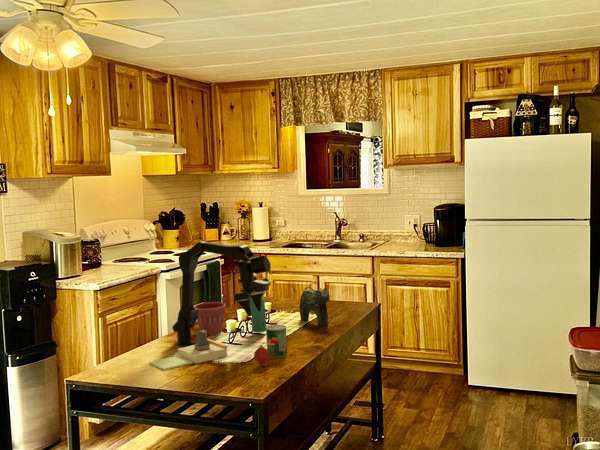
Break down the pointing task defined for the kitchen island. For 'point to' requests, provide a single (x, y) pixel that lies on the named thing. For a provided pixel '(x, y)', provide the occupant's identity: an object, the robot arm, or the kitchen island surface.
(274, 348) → the canned tomato
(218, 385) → the kitchen island surface
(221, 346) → the lever
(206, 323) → the plant pot
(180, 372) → the kitchen island surface
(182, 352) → the socket block
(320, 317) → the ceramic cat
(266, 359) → the onion
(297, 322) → the kitchen island surface
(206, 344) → the plug
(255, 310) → the beverage bottle
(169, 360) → the pale green mat
